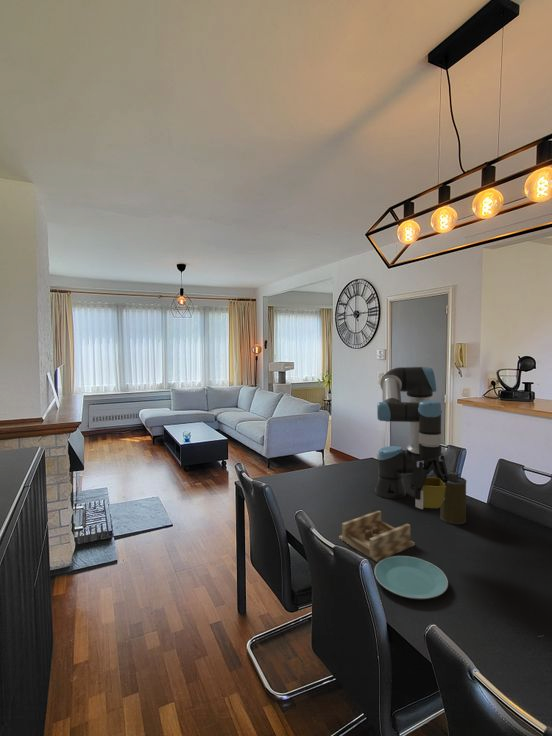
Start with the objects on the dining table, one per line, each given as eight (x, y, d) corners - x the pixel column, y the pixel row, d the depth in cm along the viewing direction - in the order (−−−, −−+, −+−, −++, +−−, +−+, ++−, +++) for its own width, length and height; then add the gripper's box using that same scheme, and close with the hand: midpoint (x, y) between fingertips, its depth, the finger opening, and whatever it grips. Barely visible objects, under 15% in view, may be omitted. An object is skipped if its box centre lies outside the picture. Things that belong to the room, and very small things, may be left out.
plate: (441, 616, 108) (441, 606, 108) (364, 591, 120) (364, 582, 120) (453, 575, 127) (453, 566, 127) (385, 557, 139) (385, 549, 139)
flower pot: (446, 511, 135) (446, 486, 135) (419, 510, 137) (419, 485, 136) (440, 501, 144) (440, 477, 143) (415, 500, 145) (415, 476, 145)
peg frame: (375, 524, 163) (374, 508, 162) (414, 545, 146) (414, 527, 146) (338, 538, 152) (338, 521, 152) (377, 562, 135) (376, 542, 135)
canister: (469, 518, 167) (469, 472, 165) (461, 526, 159) (461, 479, 158) (443, 511, 174) (443, 467, 173) (435, 519, 166) (434, 473, 165)
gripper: (440, 437, 148) (440, 492, 150) (399, 447, 135) (399, 508, 137) (459, 440, 142) (459, 498, 144) (417, 452, 129) (417, 515, 131)
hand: (430, 503), depth 140 cm, fingers closed on flower pot, 12 cm apart
